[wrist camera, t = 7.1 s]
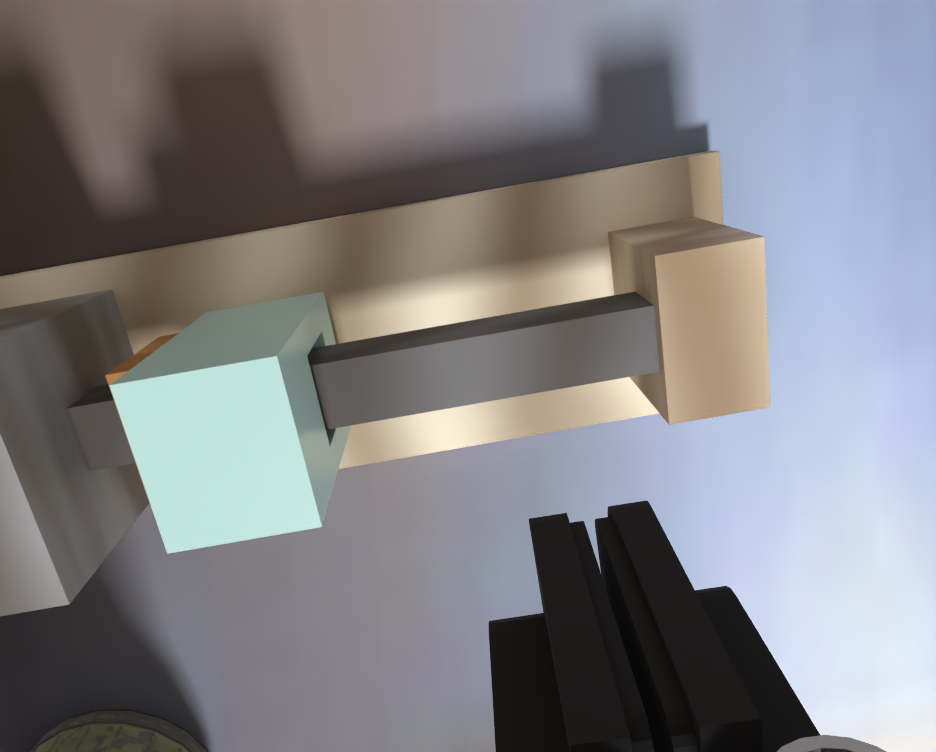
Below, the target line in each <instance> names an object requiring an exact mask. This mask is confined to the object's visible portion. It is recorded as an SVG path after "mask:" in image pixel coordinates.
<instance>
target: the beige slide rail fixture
mask: <svg viewBox="0 0 936 752" xmlns="http://www.w3.org/2000/svg"><path fill="white" fill-rule="evenodd" d="M319 292H324V295H325V300H326V304H327V308H328V312H329V317H330V321H331V325H332V329H333V334H334V338H335V342H336V344H334V345H328V346H322V347H316V348H312V349H311V350H310V352H309V354H308V356H307V357H308V361H309V365H310V369H311V373H312V377H313V381H314V385H315V389H316V393H317V397H318V401H319V405H320V409H321V413H322V417H323V421H324V425H325V429H326V430H328V429H334V428H339V427H345V426H351V428H350V431H349V435H348V438H347V442H346V445H345V448H344V452H343V455H342V459H341V462H340V466H339V469H342V468H347V467H353V466H359V465H365V464H370V463H376V462H382V461H387V460H393V459H399V458H405V457H410V456H416V455H422V454H428V453H433V452H439V451H445V450H451V449H456V448H462V447H468V446H474V445H479V444H485V443H491V442H497V441H502V440H508V439H514V438H520V437H525V436H531V435H537V434H543V433H548V432H554V431H560V430H566V429H571V428H577V427H583V426H589V425H594V424H600V423H606V422H612V421H617V420H623V419H629V418H634V417H640V416H646V415H652V414H657V413H660V414H661V416H662V417H663V418H664V419H665V420H666V422H667V423H668V424H669V425H671V424H677V423H683V422H688V421H694V420H700V419H706V418H711V417H717V416H723V415H729V414H734V413H740V412H746V411H752V410H757V409H763V408H769V407H771V404H770V377H769V350H768V323H767V296H766V269H765V242H764V236H760V235H757V234H753V233H750V232H746V231H743V230H739V229H736V228H732V227H729V226H725V225H724V224H723V206H722V188H721V169H720V151H705V152H700V153H694V154H688V155H683V156H677V157H672V158H666V159H660V160H655V161H649V162H643V163H638V164H632V165H626V166H621V167H615V168H609V169H604V170H598V171H592V172H587V173H581V174H575V175H570V176H564V177H558V178H553V179H547V180H541V181H536V182H530V183H524V184H519V185H513V186H507V187H502V188H496V189H491V190H485V191H479V192H474V193H468V194H462V195H457V196H451V197H445V198H440V199H434V200H428V201H423V202H417V203H411V204H406V205H400V206H394V207H389V208H383V209H377V210H372V211H366V212H360V213H355V214H349V215H343V216H338V217H332V218H327V219H321V220H315V221H310V222H304V223H298V224H293V225H287V226H281V227H276V228H270V229H264V230H259V231H253V232H247V233H242V234H236V235H230V236H225V237H219V238H213V239H208V240H202V241H196V242H191V243H185V244H179V245H174V246H168V247H163V248H157V249H151V250H146V251H140V252H134V253H129V254H123V255H117V256H112V257H106V258H100V259H95V260H89V261H83V262H78V263H72V264H66V265H61V266H55V267H49V268H44V269H38V270H32V271H27V272H21V273H15V274H10V275H4V276H0V616H6V615H11V614H17V613H23V612H29V611H34V610H40V609H46V608H52V607H58V606H63V605H69V604H70V603H71V602H72V601H73V599H74V598H75V597H76V596H77V594H78V593H79V592H80V590H81V589H82V588H83V587H84V585H85V584H86V583H87V582H88V580H89V579H90V578H91V576H92V575H93V574H94V573H95V571H96V570H97V569H98V568H99V566H100V565H101V564H102V562H103V561H104V560H105V559H106V557H107V556H108V555H109V554H110V552H111V551H112V550H113V548H114V547H115V546H116V545H117V543H118V542H119V541H120V539H121V538H122V537H123V536H124V534H125V533H126V532H127V531H128V529H129V528H130V527H131V525H132V524H133V523H134V522H135V520H136V519H137V518H138V517H139V515H140V514H141V513H142V511H143V510H144V509H145V508H146V506H147V505H148V504H149V503H150V502H149V499H148V496H147V493H146V490H145V487H144V484H143V481H142V478H141V476H140V473H139V470H138V467H137V464H136V461H135V458H134V455H133V452H132V450H131V447H130V444H129V441H128V438H127V435H126V432H125V429H124V426H123V424H122V421H121V418H120V415H119V412H118V409H117V406H116V403H115V400H114V397H113V395H112V392H111V389H110V386H109V385H111V384H112V383H113V382H115V381H116V380H117V379H119V378H120V377H121V376H122V375H124V374H125V373H126V372H128V371H129V370H130V369H132V368H133V367H134V366H136V365H137V364H138V363H140V362H141V361H142V360H144V359H145V358H146V357H148V356H149V355H150V354H152V353H153V352H154V351H156V350H157V349H158V348H160V347H161V346H162V345H164V344H165V343H166V342H168V341H169V340H170V339H172V338H173V337H174V336H176V335H177V334H178V333H180V332H181V331H182V330H184V329H185V328H186V327H188V326H189V325H190V324H192V323H193V322H194V321H196V320H197V319H198V318H199V317H201V316H202V315H203V314H205V313H206V312H211V311H217V310H223V309H229V308H234V307H240V306H246V305H251V304H257V303H263V302H268V301H274V300H280V299H285V298H291V297H297V296H302V295H308V294H314V293H319ZM150 506H151V504H150Z"/></svg>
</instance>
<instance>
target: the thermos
mask: <svg viewBox="0 0 936 752" xmlns="http://www.w3.org/2000/svg"><path fill="white" fill-rule="evenodd" d="M31 752H207V751H206V750H205V749H204V748H203V747H202V746H201V745H200V744H199V743H198V742H197V741H196V740H195V739H194V738H193V737H192V736H191V735H190V734H189V733H188V732H186V731H184V730H182V729H180V728H178V727H176V726H174V725H173V724H171V723H169V722H167V721H165V720H163V719H161V718H157V717H153V716H149V715H145V714H141V713H137V712H133V711H95V712H91V713H88V714H84V715H80V716H77V717H73V718H69V719H67V720H65V721H64V722H62V723H61V724H59V725H58V726H56V727H54V728H53V729H51V730H50V731H48V732H46V733H45V734H44V735H43V737H42V738H41V739H40V740H39V742H38V743H37V744H36V746H35V747H34V748H33V750H32V751H31Z"/></svg>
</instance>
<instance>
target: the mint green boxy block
mask: <svg viewBox="0 0 936 752" xmlns="http://www.w3.org/2000/svg"><path fill="white" fill-rule="evenodd" d="M334 344H336V342H335V338H334V334H333V329H332V325H331V321H330V317H329V312H328V308H327V304H326V300H325V295H324V292H319V293H314V294H308V295H302V296H297V297H291V298H285V299H280V300H274V301H268V302H263V303H257V304H251V305H246V306H240V307H234V308H229V309H223V310H217V311H211V312H206V313H205V314H203V315H202V316H201V317H199V318H198V319H197V320H196V321H194V322H193V323H192V324H190V325H189V326H188V327H186V328H185V329H184V330H182V331H181V332H180V333H178V334H177V335H176V336H174V337H173V338H172V339H170V340H169V341H168V342H166V343H165V344H164V345H162V346H161V347H160V348H158V349H157V350H156V351H154V352H153V353H152V354H150V355H149V356H148V357H146V358H145V359H144V360H142V361H141V362H140V363H138V364H137V365H136V366H134V367H133V368H132V369H130V370H129V371H128V372H126V373H125V374H124V375H122V376H121V377H120V378H119V379H117V380H116V381H115V382H113V383H112V384H111V385H109V386H110V389H111V392H112V395H113V397H114V400H115V403H116V406H117V409H118V412H119V415H120V418H121V421H122V424H123V426H124V429H125V432H126V435H127V438H128V441H129V444H130V447H131V450H132V452H133V455H134V458H135V461H136V464H137V467H138V470H139V473H140V476H141V478H142V481H143V484H144V487H145V490H146V493H147V496H148V499H149V502H150V504H151V507H152V510H153V513H154V516H155V519H156V522H157V525H158V528H159V530H160V533H161V536H162V539H163V542H164V545H165V548H166V551H167V554H168V553H174V552H180V551H185V550H191V549H197V548H203V547H208V546H214V545H220V544H226V543H232V542H237V541H243V540H249V539H255V538H260V537H266V536H272V535H278V534H283V533H289V532H295V531H301V530H306V529H312V528H318V527H322V525H323V522H324V518H325V515H326V511H327V508H328V504H329V501H330V497H331V494H332V490H333V487H334V483H335V480H336V476H337V473H338V469H339V466H340V462H341V459H342V455H343V452H344V448H345V445H346V442H347V438H348V435H349V431H350V428H351V426H345V427H339V428H334V429H328V430H326V429H325V425H324V421H323V417H322V413H321V409H320V405H319V401H318V397H317V393H316V389H315V385H314V381H313V377H312V373H311V369H310V365H309V361H308V357H307V356H308V354H309V352H310V350H311V349H312V348H316V347H322V346H328V345H334Z"/></svg>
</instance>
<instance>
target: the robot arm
mask: <svg viewBox="0 0 936 752" xmlns="http://www.w3.org/2000/svg"><path fill="white" fill-rule="evenodd" d="M529 524H530V530H531V537H532V543H533V549H534V555H535V562H536V568H537V574H538V580H539V587H540V593H541V599H542V605H543V612H544V613H541V614H534V615H527V616H520V617H514V618H507V619H500V620H493V621H489V642H490V659H491V676H492V693H493V710H494V727H495V744H496V752H886V751H884V750H882V749H880V748H879V747H877V746H874V745H871V744H868V743H865V742H862V741H858V740H855V739H852V738H848V737H838V736H829V735H820V734H819V732H818V731H817V729H816V727H815V726H814V724H813V722H812V721H811V719H810V717H809V716H808V714H807V713H806V711H805V709H804V708H803V706H802V704H801V703H800V701H799V699H798V698H797V696H796V694H795V693H794V691H793V689H792V688H791V686H790V684H789V683H788V681H787V679H786V678H785V676H784V674H783V673H782V671H781V669H780V668H779V666H778V664H777V663H776V661H775V660H774V658H773V656H772V655H771V653H770V651H769V650H768V648H767V646H766V645H765V643H764V641H763V640H762V638H761V636H760V635H759V633H758V631H757V630H756V628H755V626H754V625H753V623H752V621H751V620H750V618H749V616H748V615H747V613H746V611H745V610H744V608H743V606H742V605H741V603H740V602H739V600H738V598H737V597H736V595H735V594H734V592H733V591H732V590H731V588H729V587H727V586H723V587H716V588H709V589H702V590H696V591H695V590H694V588H693V586H692V584H691V583H690V581H689V579H688V577H687V575H686V573H685V571H684V569H683V567H682V565H681V563H680V561H679V559H678V557H677V556H676V554H675V552H674V550H673V548H672V546H671V544H670V542H669V540H668V538H667V536H666V534H665V532H664V531H663V529H662V527H661V525H660V523H659V521H658V519H657V517H656V515H655V513H654V511H653V509H652V507H651V505H650V504H649V502H648V501H641V502H635V503H628V504H622V505H615V506H609V507H608V517H606V518H599V519H595V529H596V537H597V545H598V552H599V560H600V568H601V573H600V570H599V567H598V564H597V561H596V557H595V554H594V551H593V548H592V545H591V542H590V539H589V536H588V533H587V530H586V527H585V524H584V521H579V522H573V523H569V519H568V516H567V513H564V514H557V515H551V516H544V517H538V518H531V519H529Z"/></svg>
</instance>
